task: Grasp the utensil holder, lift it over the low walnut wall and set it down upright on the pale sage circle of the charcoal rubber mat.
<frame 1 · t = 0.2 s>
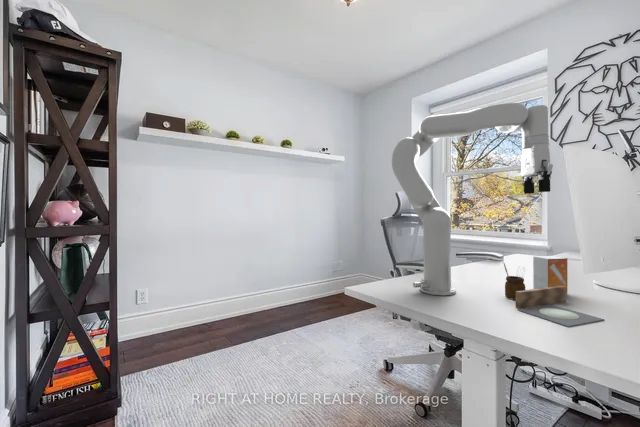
hand: (536, 192, 103), 36 cm above the table, tool pointing down, fingers open, 9 cm apart
utensil holder: (514, 298, 103), on the table
small box: (550, 293, 108), on the table
low wall: (541, 304, 95), on the table
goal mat: (558, 315, 86), on the table
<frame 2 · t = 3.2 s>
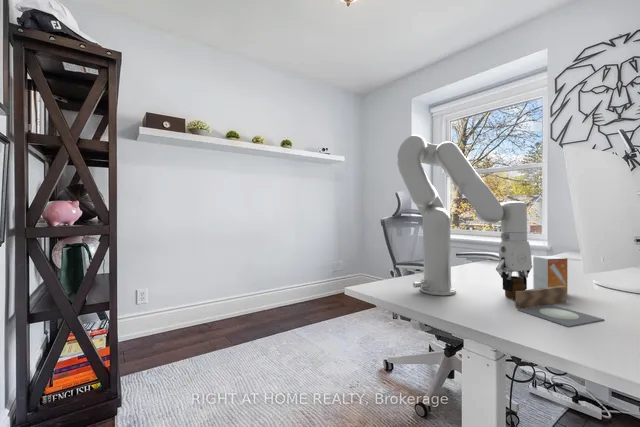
hand: (514, 289, 103), 3 cm above the table, tool pointing down, fingers closed on utensil holder, 5 cm apart
utensil holder: (514, 298, 103), on the table, touching gripper
everything else where it was.
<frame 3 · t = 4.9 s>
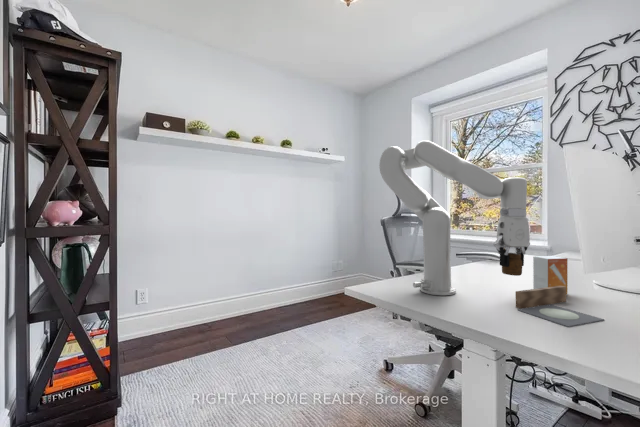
hand: (511, 265, 103), 11 cm above the table, tool pointing down, fingers closed on utensil holder, 5 cm apart
utensil holder: (511, 274, 103), point 8 cm above the table, touching gripper
everything else where it was.
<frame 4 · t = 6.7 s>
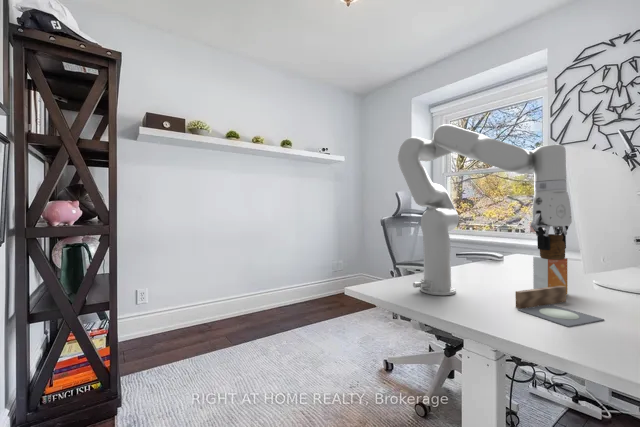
hand: (551, 248, 88), 19 cm above the table, tool pointing down, fingers closed on utensil holder, 5 cm apart
utensil holder: (551, 259, 88), point 16 cm above the table, touching gripper
everything else where it was.
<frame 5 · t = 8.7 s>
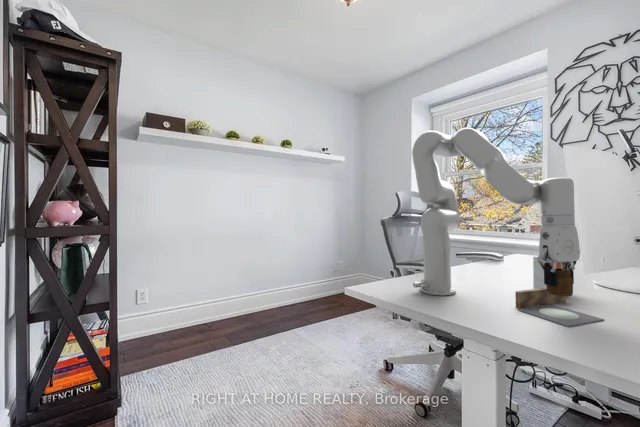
hand: (558, 283, 86), 9 cm above the table, tool pointing down, fingers closed on utensil holder, 5 cm apart
utensil holder: (559, 294, 86), point 6 cm above the table, touching gripper
everything else where it was.
when the fingers open (4 cm above the table, at t = 10.1 s): utensil holder stays where it is, resting on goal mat.
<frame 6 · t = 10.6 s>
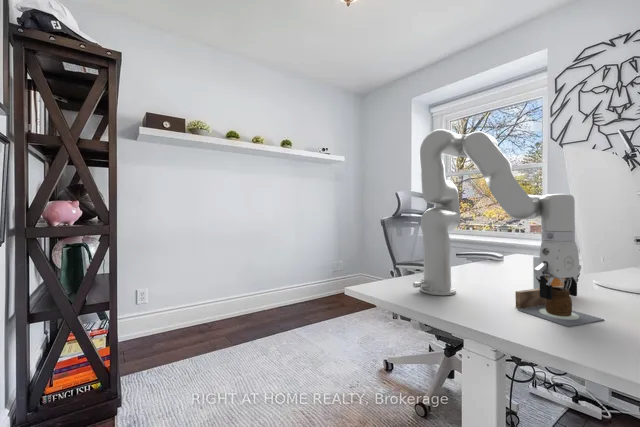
hand: (558, 296, 86), 5 cm above the table, tool pointing down, fingers open, 9 cm apart
utensil holder: (557, 313, 86), resting on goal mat
everything else where it was.
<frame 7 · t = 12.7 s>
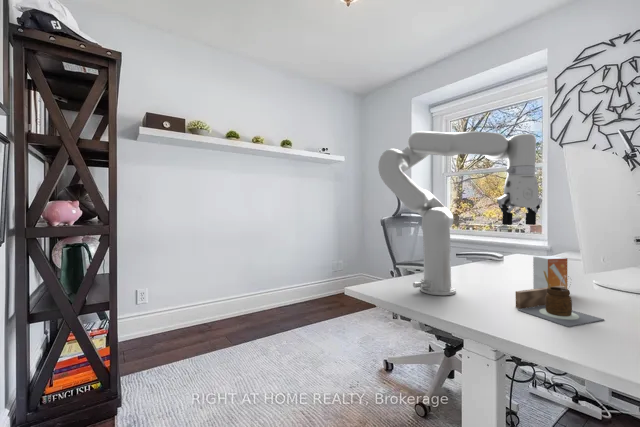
hand: (518, 224, 99), 25 cm above the table, tool pointing down, fingers open, 9 cm apart
nothing on the table moved.
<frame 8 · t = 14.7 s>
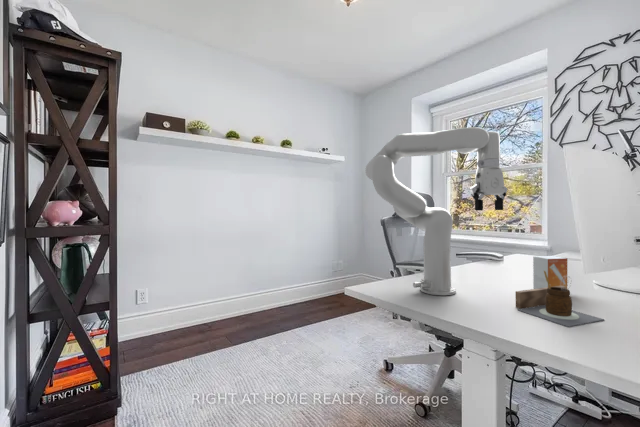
hand: (489, 210, 114), 30 cm above the table, tool pointing down, fingers open, 9 cm apart
nothing on the table moved.
at the end: utensil holder inside the target area (0.2 cm from its centre), resting on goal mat; utensil holder tilted 0°; the gripper is holding nothing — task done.
